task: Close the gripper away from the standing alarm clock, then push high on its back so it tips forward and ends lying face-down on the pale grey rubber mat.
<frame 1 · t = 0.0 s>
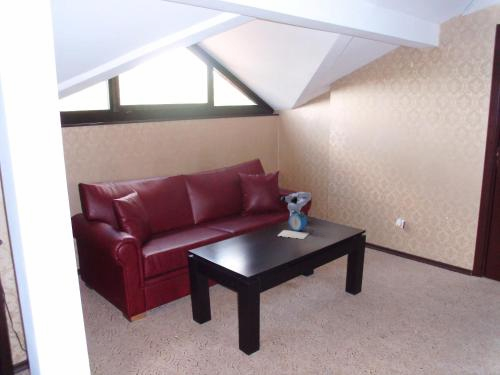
hand: (286, 201, 313), 22 cm above the table, tool horizontal, fingers open, 7 cm apart
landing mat: (293, 234, 301), on the table
alarm clock: (297, 230, 311), on the table, touching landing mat
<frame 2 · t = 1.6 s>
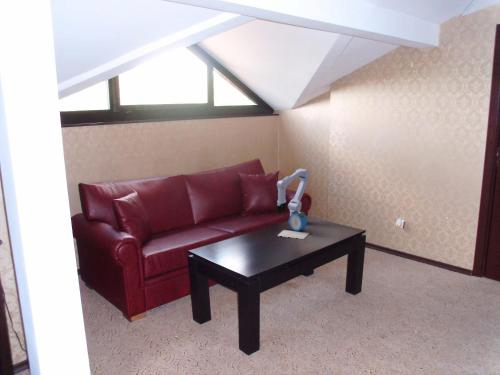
hand: (281, 212, 323), 10 cm above the table, tool pointing down, fingers open, 7 cm apart
nothing on the table moved.
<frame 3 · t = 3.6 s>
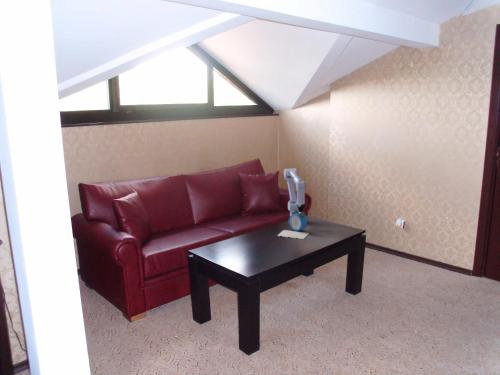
hand: (300, 213, 318), 10 cm above the table, tool pointing down, fingers closed
nothing on the table moved.
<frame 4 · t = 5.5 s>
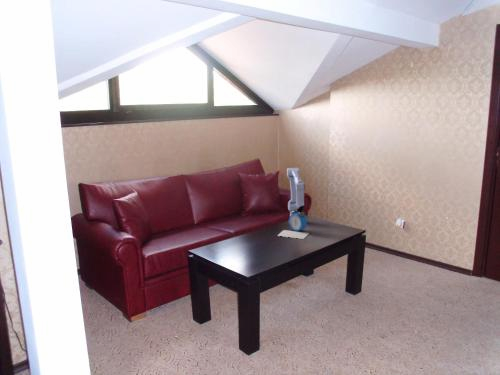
hand: (300, 215, 313), 10 cm above the table, tool pointing down, fingers closed
alarm clock: (297, 230, 311), on the table, touching gripper, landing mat
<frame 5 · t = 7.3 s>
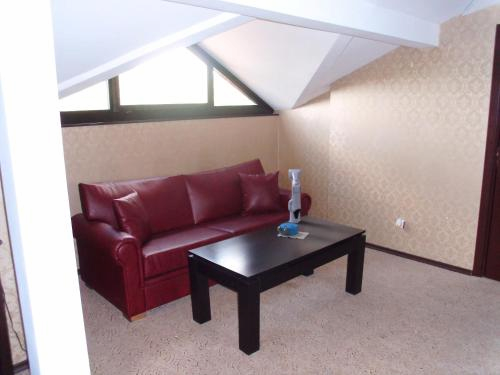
hand: (296, 218, 306), 10 cm above the table, tool pointing down, fingers closed
alarm clock: (295, 227, 308), point 3 cm above the table, touching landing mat
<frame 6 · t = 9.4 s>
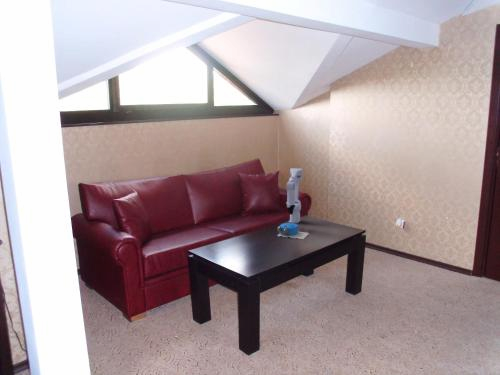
hand: (291, 214, 318), 10 cm above the table, tool pointing down, fingers closed
nothing on the table moved.
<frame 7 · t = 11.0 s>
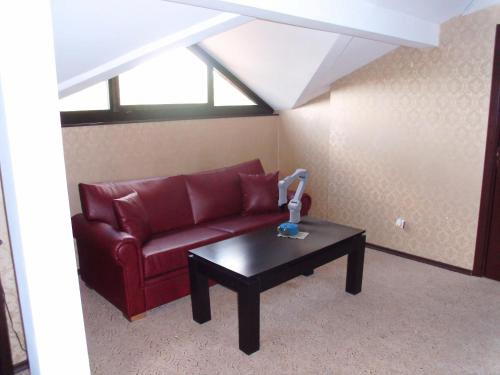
hand: (282, 212, 322), 10 cm above the table, tool pointing down, fingers closed
nothing on the table moved.
at the end: alarm clock tilted 90°; alarm clock touching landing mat; the gripper is holding nothing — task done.
